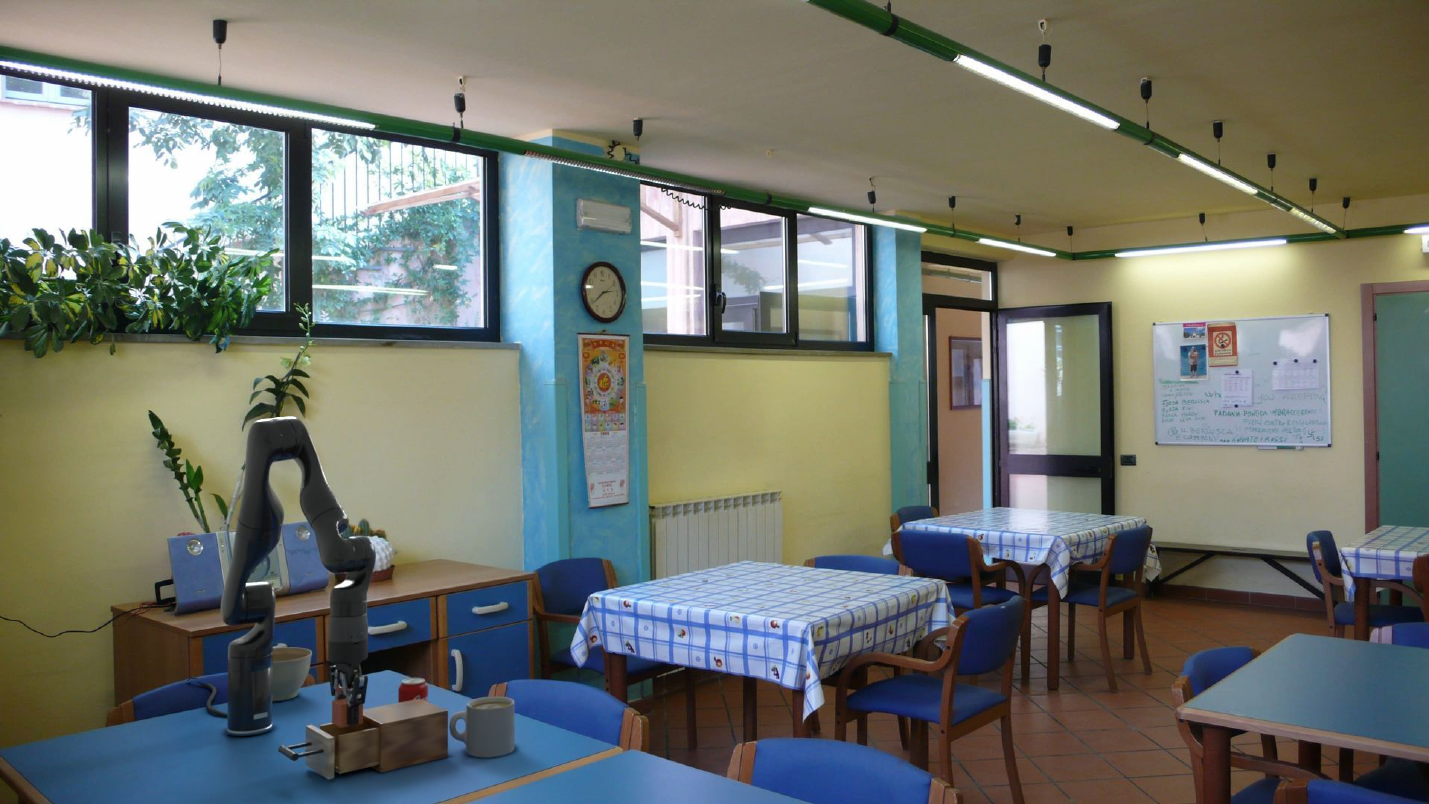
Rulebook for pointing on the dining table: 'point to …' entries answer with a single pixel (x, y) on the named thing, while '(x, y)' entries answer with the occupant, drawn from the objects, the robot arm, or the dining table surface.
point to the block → (343, 713)
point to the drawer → (338, 748)
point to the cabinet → (409, 733)
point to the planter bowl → (289, 671)
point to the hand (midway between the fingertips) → (347, 721)
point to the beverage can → (413, 690)
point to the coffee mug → (486, 726)
